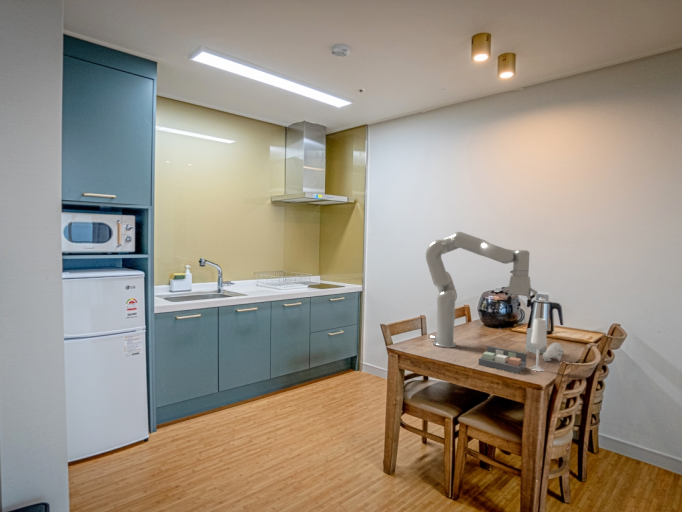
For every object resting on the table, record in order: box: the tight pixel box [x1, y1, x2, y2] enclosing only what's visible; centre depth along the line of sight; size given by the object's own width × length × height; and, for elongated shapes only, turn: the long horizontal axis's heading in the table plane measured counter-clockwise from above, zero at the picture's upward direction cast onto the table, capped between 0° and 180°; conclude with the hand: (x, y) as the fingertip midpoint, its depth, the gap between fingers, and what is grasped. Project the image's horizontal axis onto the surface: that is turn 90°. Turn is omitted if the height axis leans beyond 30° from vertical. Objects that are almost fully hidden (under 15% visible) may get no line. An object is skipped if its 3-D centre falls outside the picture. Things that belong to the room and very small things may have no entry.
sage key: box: [481, 351, 495, 360], centre depth 194 cm, size 4×4×2 cm
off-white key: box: [495, 354, 508, 363], centre depth 190 cm, size 4×4×2 cm
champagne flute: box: [529, 317, 548, 371], centre depth 188 cm, size 7×7×24 cm
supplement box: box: [525, 327, 548, 355], centre depth 219 cm, size 7×7×13 cm
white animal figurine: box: [541, 342, 564, 362], centre depth 204 cm, size 6×8×12 cm
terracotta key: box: [508, 357, 521, 366], centre depth 187 cm, size 4×4×2 cm
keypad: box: [478, 345, 528, 374], centre depth 192 cm, size 18×12×7 cm, turn 50°
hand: (518, 305), depth 212 cm, fingers open, 9 cm apart
